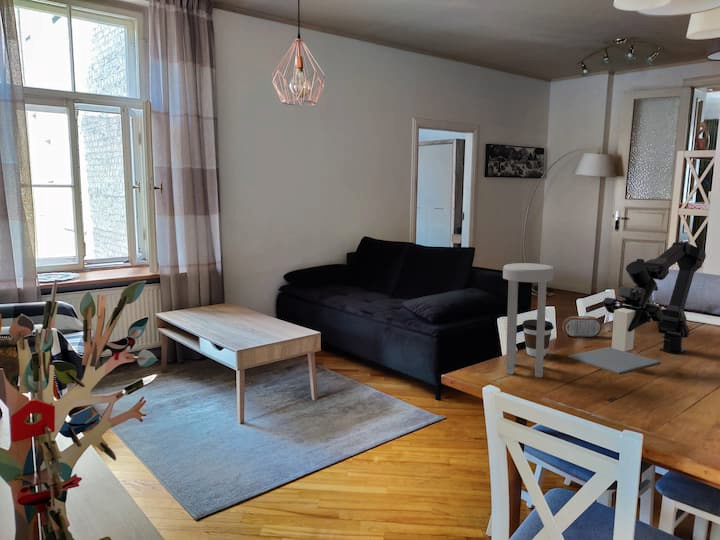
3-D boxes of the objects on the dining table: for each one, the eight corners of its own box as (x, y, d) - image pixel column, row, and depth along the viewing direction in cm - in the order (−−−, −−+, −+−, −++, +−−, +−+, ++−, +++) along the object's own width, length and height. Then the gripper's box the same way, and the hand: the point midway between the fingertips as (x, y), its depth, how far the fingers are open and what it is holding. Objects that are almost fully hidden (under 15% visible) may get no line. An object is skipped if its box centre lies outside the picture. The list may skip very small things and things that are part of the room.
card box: (620, 345, 178) (623, 308, 176) (633, 348, 174) (636, 310, 172) (611, 347, 175) (614, 310, 173) (624, 351, 172) (627, 312, 170)
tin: (599, 336, 215) (600, 315, 214) (602, 338, 212) (603, 317, 211) (561, 335, 216) (562, 315, 215) (563, 337, 213) (564, 317, 212)
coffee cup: (553, 352, 194) (555, 320, 192) (550, 361, 184) (552, 327, 182) (523, 348, 198) (524, 317, 197) (518, 357, 189) (519, 324, 187)
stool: (498, 375, 170) (501, 268, 165) (503, 360, 185) (505, 262, 180) (549, 380, 165) (553, 270, 160) (549, 365, 179) (553, 263, 174)
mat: (608, 348, 198) (608, 346, 198) (659, 362, 180) (660, 361, 180) (567, 357, 187) (567, 355, 187) (618, 374, 170) (618, 372, 170)
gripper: (607, 274, 181) (586, 309, 177) (662, 281, 166) (640, 320, 161) (618, 294, 187) (598, 329, 182) (673, 302, 171) (652, 341, 167)
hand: (621, 329), depth 173 cm, fingers closed on card box, 4 cm apart
